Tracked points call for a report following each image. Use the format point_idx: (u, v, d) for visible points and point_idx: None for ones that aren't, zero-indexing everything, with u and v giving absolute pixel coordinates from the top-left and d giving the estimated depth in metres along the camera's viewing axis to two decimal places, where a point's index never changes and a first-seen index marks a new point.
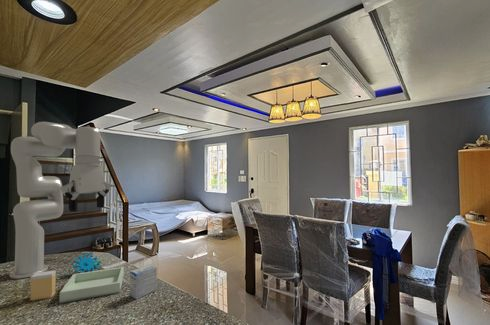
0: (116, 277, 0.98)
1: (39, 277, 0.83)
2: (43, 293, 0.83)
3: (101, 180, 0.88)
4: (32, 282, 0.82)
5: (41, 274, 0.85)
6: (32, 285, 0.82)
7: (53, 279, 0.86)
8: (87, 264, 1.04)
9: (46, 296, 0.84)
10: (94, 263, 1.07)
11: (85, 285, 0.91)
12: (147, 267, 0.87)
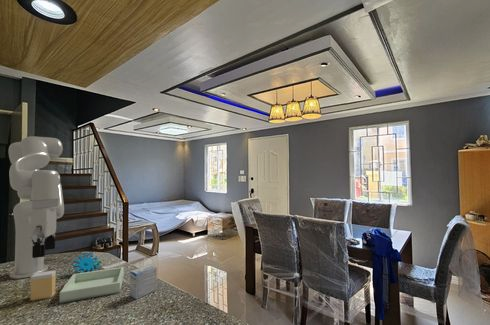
0: (116, 277, 0.98)
1: (39, 277, 0.83)
2: (43, 293, 0.83)
3: None
4: (32, 282, 0.82)
5: (41, 274, 0.85)
6: (32, 285, 0.82)
7: (53, 279, 0.86)
8: (87, 264, 1.04)
9: (46, 296, 0.84)
10: (94, 263, 1.07)
11: (85, 285, 0.91)
12: (146, 267, 0.87)
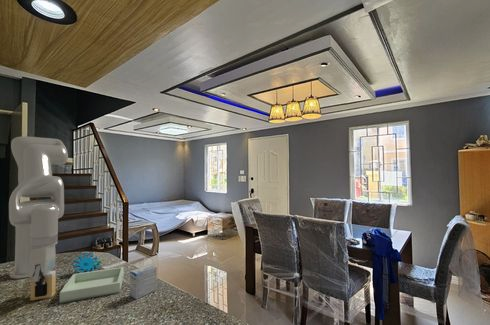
0: (116, 277, 0.98)
1: None
2: None
3: (55, 256, 0.89)
4: (32, 282, 0.82)
5: (41, 274, 0.85)
6: (32, 285, 0.82)
7: (53, 279, 0.86)
8: (87, 264, 1.04)
9: (46, 296, 0.84)
10: (94, 263, 1.07)
11: (85, 285, 0.91)
12: (147, 267, 0.87)
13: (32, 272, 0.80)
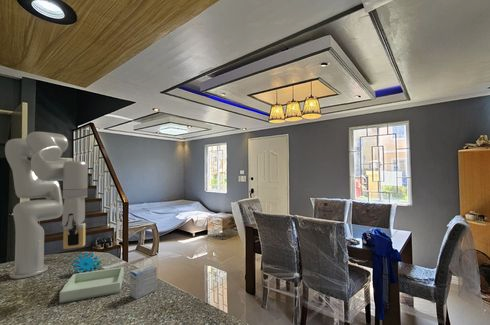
0: (116, 277, 0.98)
1: None
2: None
3: (84, 210, 0.93)
4: (65, 231, 0.86)
5: None
6: (65, 235, 0.86)
7: (84, 230, 0.90)
8: (87, 264, 1.05)
9: (78, 245, 0.88)
10: (94, 263, 1.07)
11: (85, 285, 0.91)
12: (146, 267, 0.87)
13: (66, 220, 0.84)
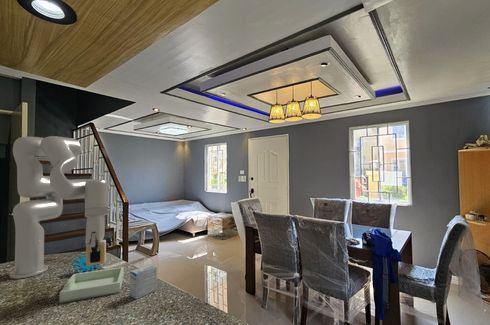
0: (116, 277, 0.98)
1: None
2: None
3: None
4: (87, 249, 0.89)
5: None
6: (87, 252, 0.89)
7: (105, 247, 0.92)
8: None
9: (99, 262, 0.90)
10: None
11: (85, 285, 0.91)
12: (146, 267, 0.87)
13: (89, 239, 0.86)
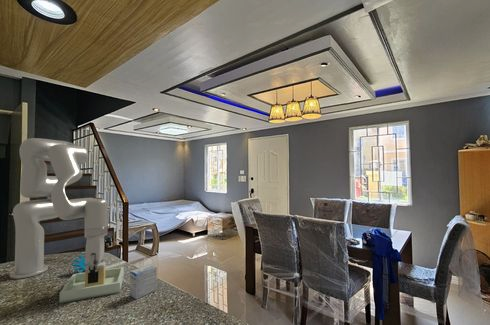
0: (116, 277, 0.98)
1: None
2: (96, 283, 0.89)
3: None
4: (86, 272, 0.88)
5: (94, 265, 0.91)
6: (86, 275, 0.88)
7: (104, 270, 0.92)
8: None
9: None
10: None
11: None
12: (147, 267, 0.87)
13: (88, 260, 0.86)
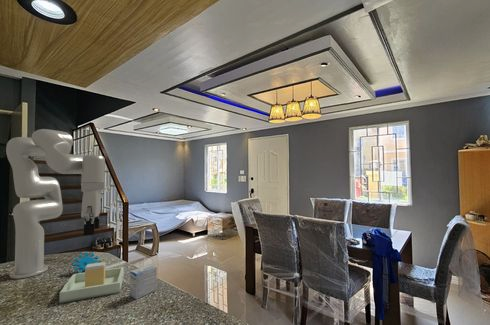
0: (116, 277, 0.98)
1: (92, 268, 0.89)
2: (96, 283, 0.89)
3: None
4: (86, 272, 0.88)
5: (94, 265, 0.91)
6: (86, 275, 0.88)
7: (104, 270, 0.92)
8: (86, 263, 1.05)
9: None
10: (94, 262, 1.07)
11: None
12: (147, 267, 0.87)
13: (84, 212, 0.87)
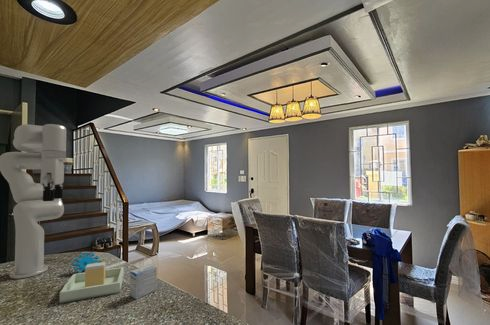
0: (116, 277, 0.98)
1: (92, 268, 0.89)
2: (96, 283, 0.89)
3: (63, 173, 0.98)
4: (86, 272, 0.88)
5: (94, 265, 0.91)
6: (86, 275, 0.88)
7: (104, 270, 0.92)
8: (86, 263, 1.05)
9: None
10: (94, 262, 1.07)
11: None
12: (146, 267, 0.87)
13: None
